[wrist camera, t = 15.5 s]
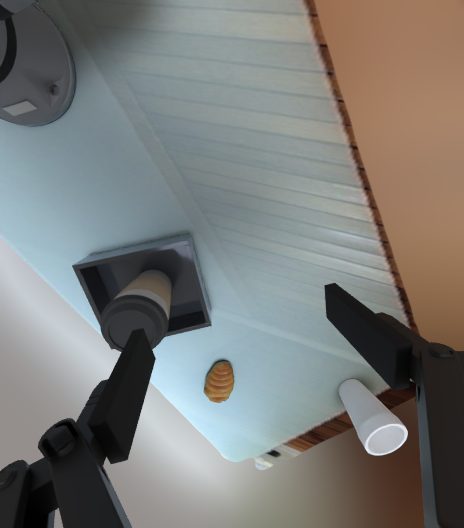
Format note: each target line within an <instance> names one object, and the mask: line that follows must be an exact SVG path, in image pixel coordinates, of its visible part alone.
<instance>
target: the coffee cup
mask: <svg viewBox="0 0 464 528" xmlns="http://www.w3.org/2000/svg"><path fill="white" fill-rule="evenodd" d="M171 289H172V285H171V281H170V279H169V277H168V276H167V275H166V274H165V273H163V272H161V271H158V270H147V271H145V272H143V273H141V274H140V275H139V276H138V277H137V278H136V279H135V280H133V281H132V282H131V283H130V284H129V285H128V286H127V287H126V288H125V289H124V290H122V291H121V292H120V293H119V294H118V295H117V296H116V297H115V298H114V300H112V301H111V302H110V303H108V304H107V306H106V307H105V308H104V310H103V312H102V315H101V332H102V335H103V337H104V339H105V340H106V342H107V343H108V344H109V345H110V346H111V347H113V348H114V349H116V350H118V351H120V352H122V351H123V349H124V347H125V345H126V343H127V341H128V339H129V336H130V334H131V332H132V330H136V329H141V328H144V331H145V333H146V336H147V338H148V341H149V343H150V346H151V348H152V349H153V348H155V347H156V346H157V345H158V344H159V343H160V342H161V340H162V339H163V338H164V337H165V335H166V333H167V330H168V320H169V313H170V302H171Z"/></svg>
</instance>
